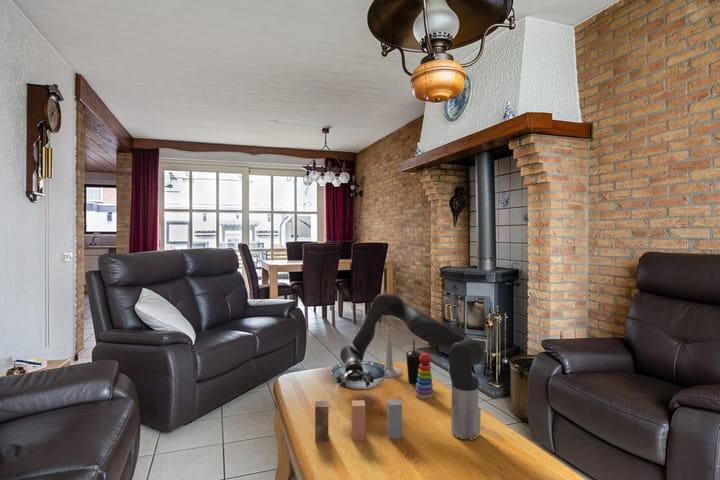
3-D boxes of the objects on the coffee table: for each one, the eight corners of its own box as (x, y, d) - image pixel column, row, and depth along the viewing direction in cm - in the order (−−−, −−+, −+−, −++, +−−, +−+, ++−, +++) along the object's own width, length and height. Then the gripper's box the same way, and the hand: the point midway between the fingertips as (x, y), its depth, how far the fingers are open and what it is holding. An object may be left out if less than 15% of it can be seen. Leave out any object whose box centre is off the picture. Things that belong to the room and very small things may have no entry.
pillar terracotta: (364, 433, 145) (364, 400, 145) (365, 439, 141) (365, 405, 140) (351, 433, 145) (351, 400, 145) (352, 440, 141) (352, 406, 140)
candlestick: (372, 375, 202) (372, 314, 201) (382, 367, 213) (383, 310, 212) (396, 379, 196) (396, 317, 195) (405, 371, 207) (406, 312, 206)
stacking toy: (432, 401, 172) (432, 357, 171) (413, 398, 175) (413, 355, 174) (434, 393, 180) (435, 351, 179) (416, 391, 182) (417, 349, 182)
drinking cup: (422, 385, 189) (423, 342, 188) (406, 385, 189) (406, 342, 188) (420, 379, 196) (421, 338, 196) (404, 379, 196) (405, 338, 196)
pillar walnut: (328, 434, 144) (328, 401, 144) (328, 441, 140) (328, 406, 140) (315, 434, 144) (315, 401, 144) (315, 441, 140) (315, 407, 139)
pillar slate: (399, 432, 146) (399, 399, 146) (401, 438, 142) (402, 404, 141) (387, 432, 146) (387, 399, 146) (388, 439, 141) (389, 405, 141)
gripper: (336, 360, 169) (337, 374, 153) (370, 359, 170) (375, 374, 154) (336, 377, 170) (337, 394, 153) (370, 377, 171) (374, 394, 154)
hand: (356, 384), depth 154 cm, fingers open, 8 cm apart
